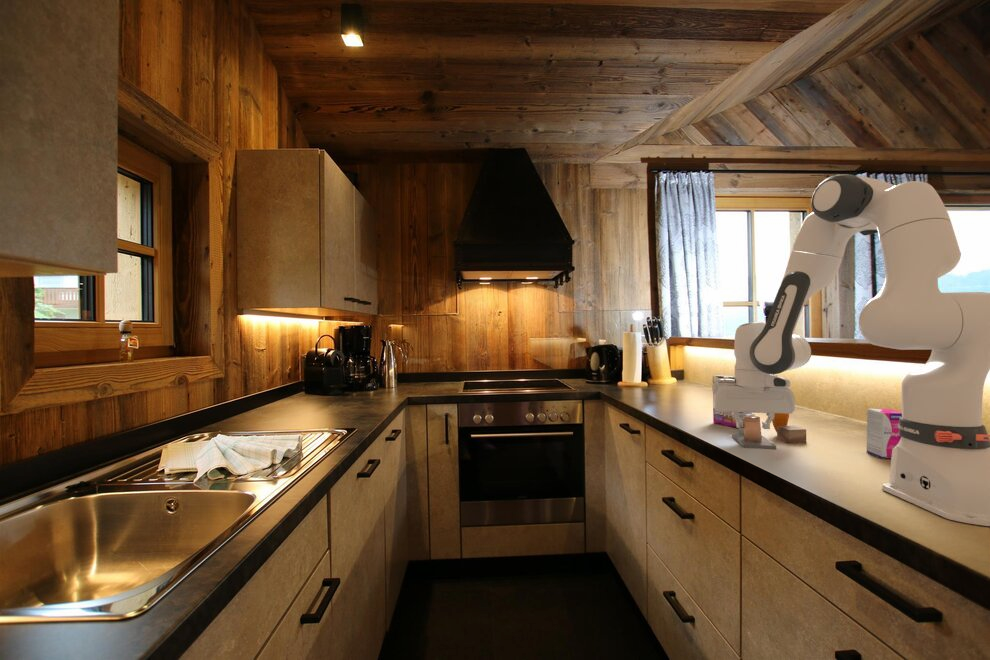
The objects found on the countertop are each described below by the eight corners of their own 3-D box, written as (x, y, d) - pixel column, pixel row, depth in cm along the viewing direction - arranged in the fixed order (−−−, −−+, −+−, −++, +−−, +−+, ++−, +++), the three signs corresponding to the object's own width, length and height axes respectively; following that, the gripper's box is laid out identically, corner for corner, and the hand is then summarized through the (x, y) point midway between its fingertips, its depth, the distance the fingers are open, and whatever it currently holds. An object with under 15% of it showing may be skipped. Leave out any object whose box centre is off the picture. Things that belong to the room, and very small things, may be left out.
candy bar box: (753, 427, 146) (752, 377, 146) (742, 429, 144) (741, 378, 144) (722, 421, 156) (722, 374, 156) (712, 423, 154) (711, 375, 154)
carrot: (793, 436, 134) (793, 386, 134) (782, 438, 132) (781, 387, 132) (777, 433, 138) (777, 384, 138) (766, 434, 137) (765, 385, 136)
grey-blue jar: (757, 436, 135) (757, 416, 135) (740, 435, 136) (740, 415, 136) (752, 433, 139) (752, 413, 139) (736, 432, 140) (736, 412, 140)
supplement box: (882, 459, 111) (882, 412, 111) (865, 452, 116) (865, 408, 116) (908, 459, 110) (908, 412, 110) (890, 453, 116) (889, 408, 116)
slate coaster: (776, 448, 121) (776, 445, 121) (743, 447, 123) (743, 444, 123) (761, 438, 133) (761, 435, 133) (732, 436, 135) (731, 434, 135)
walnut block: (806, 443, 127) (806, 429, 127) (789, 444, 126) (789, 429, 126) (793, 439, 132) (793, 425, 132) (777, 439, 131) (776, 426, 131)
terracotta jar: (764, 440, 125) (761, 418, 125) (746, 441, 126) (744, 419, 127) (759, 437, 130) (757, 415, 130) (742, 437, 131) (740, 416, 131)
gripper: (714, 380, 127) (715, 429, 127) (796, 381, 122) (797, 432, 122) (709, 377, 134) (710, 424, 134) (788, 378, 128) (788, 427, 128)
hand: (752, 428), depth 128 cm, fingers open, 5 cm apart
